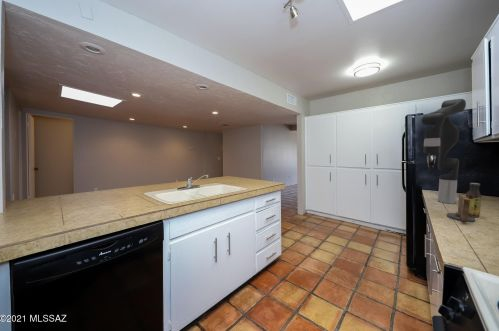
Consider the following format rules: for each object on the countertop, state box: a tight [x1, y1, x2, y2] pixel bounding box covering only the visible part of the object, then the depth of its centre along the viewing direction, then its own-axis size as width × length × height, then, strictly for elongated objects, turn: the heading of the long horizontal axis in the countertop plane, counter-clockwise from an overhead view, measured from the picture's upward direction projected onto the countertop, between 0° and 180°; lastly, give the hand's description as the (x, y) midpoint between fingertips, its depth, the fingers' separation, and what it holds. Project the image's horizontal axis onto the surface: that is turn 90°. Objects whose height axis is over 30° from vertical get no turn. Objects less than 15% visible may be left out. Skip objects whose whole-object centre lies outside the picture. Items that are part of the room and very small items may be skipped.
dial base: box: [446, 212, 476, 223], centre depth 109 cm, size 11×11×1 cm
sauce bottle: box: [465, 182, 482, 218], centre depth 112 cm, size 6×6×20 cm
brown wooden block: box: [454, 193, 470, 223], centre depth 105 cm, size 13×4×12 cm, turn 139°
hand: (430, 172), depth 120 cm, fingers closed
